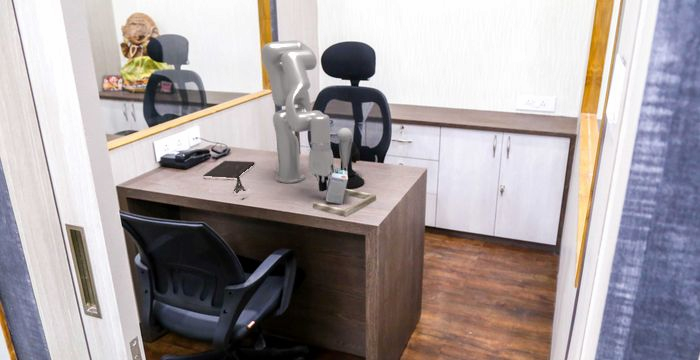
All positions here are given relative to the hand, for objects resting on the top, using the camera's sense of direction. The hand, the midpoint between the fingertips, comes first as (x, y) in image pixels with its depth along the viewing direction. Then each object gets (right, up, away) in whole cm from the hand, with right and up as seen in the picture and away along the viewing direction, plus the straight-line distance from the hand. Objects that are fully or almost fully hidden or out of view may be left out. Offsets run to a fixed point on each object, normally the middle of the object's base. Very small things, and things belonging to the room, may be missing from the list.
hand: (323, 190), depth 209 cm
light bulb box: (+4, -3, 0) cm, 6 cm away
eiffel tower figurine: (-35, -2, +11) cm, 37 cm away
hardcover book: (-46, +7, +39) cm, 61 cm away
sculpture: (+10, +4, +22) cm, 24 cm away
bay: (+9, -5, -5) cm, 11 cm away
